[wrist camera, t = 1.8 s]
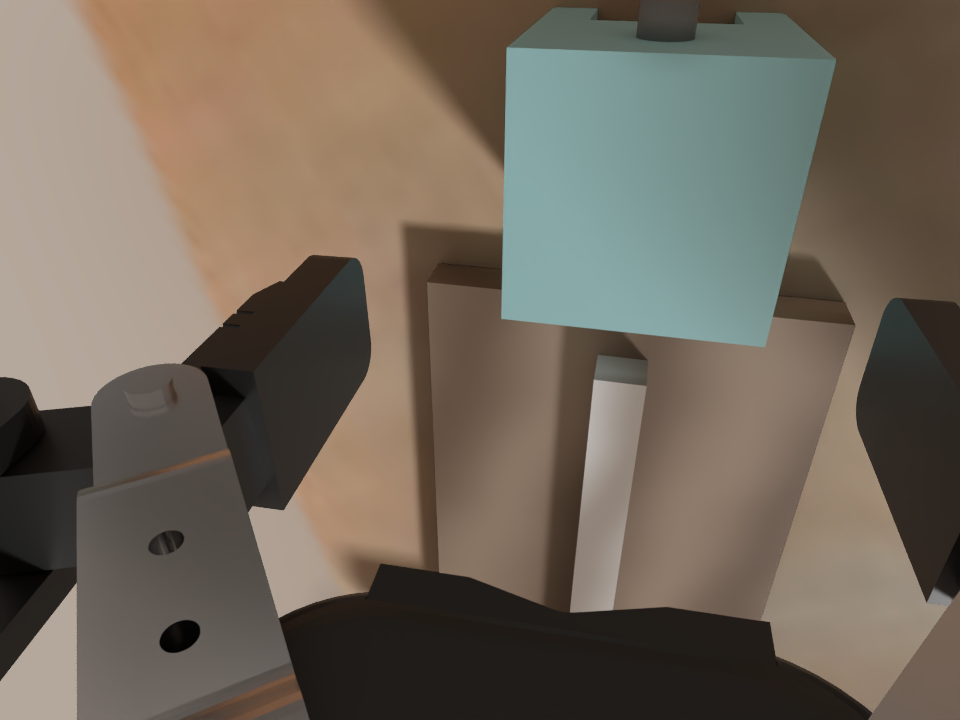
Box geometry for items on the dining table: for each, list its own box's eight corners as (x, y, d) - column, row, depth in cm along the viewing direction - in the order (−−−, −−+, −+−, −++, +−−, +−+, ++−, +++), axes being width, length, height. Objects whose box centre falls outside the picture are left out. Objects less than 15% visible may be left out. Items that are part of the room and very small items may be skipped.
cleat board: (844, 302, 22) (896, 414, 17) (718, 716, 34) (726, 854, 29) (438, 263, 25) (381, 352, 20) (451, 662, 36) (417, 782, 31)
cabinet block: (790, -18, 18) (847, 17, 12) (739, 231, 22) (765, 347, 16) (555, -22, 19) (507, 7, 14) (543, 215, 23) (501, 318, 17)
